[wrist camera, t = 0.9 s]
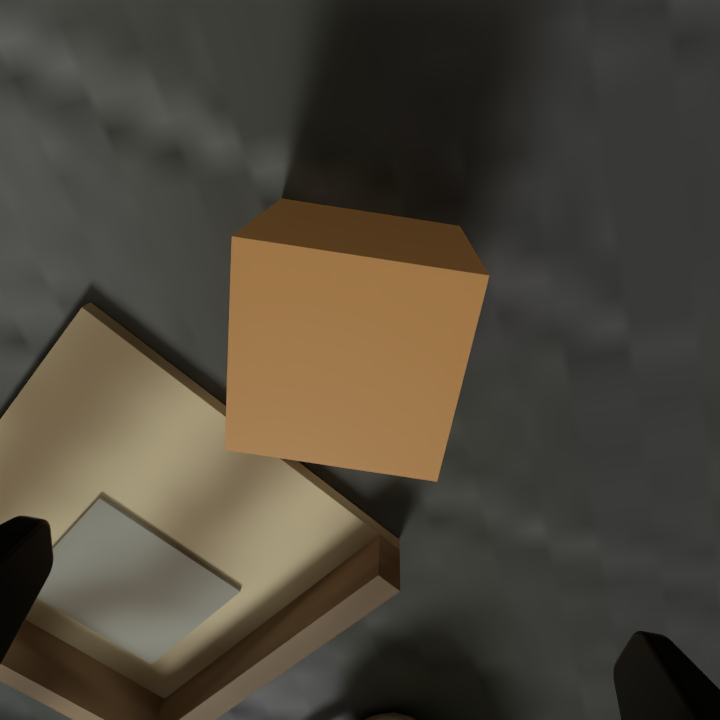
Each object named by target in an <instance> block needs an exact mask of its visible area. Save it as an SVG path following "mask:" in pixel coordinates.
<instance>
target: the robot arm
mask: <svg viewBox="0 0 720 720" xmlns="http://www.w3.org/2000/svg"><path fill="white" fill-rule="evenodd" d="M53 558H54V557H53V547H52V537H51V528H50V524H49V522H48V521H47V520H45V519H41V518H35V517H30V516H23V515H22V516H17V517H14V518H12V519H10V520H8V521H6V522H4V523H2V524H0V665H1V663H2V661H3V659H4V657H5V656H6V654H7V652H8V650H9V648H10V646H11V645H12V643H13V641H14V639H15V637H16V635H17V633H18V632H19V630H20V628H21V626H22V624H23V622H24V621H25V619H26V617H27V615H28V613H29V611H30V610H31V608H32V606H33V604H34V602H35V600H36V599H37V597H38V595H39V593H40V591H41V589H42V587H43V586H44V584H45V582H46V580H47V578H48V576H49V574H50V572H51V569H52V566H53ZM614 684H615V689H616V694H617V699H618V705H619V710H620V715H621V720H720V689H719V688H718V687H717V686H716V685H715V684H714V683H713V682H712V681H711V680H710V679H709V678H708V677H707V676H706V675H705V674H704V673H703V672H702V671H701V670H700V669H699V668H698V667H697V666H696V665H695V664H694V663H693V662H692V661H691V660H690V659H689V658H688V657H687V656H686V655H685V654H684V653H683V652H682V651H681V650H680V649H679V648H678V647H677V646H676V645H675V644H674V643H673V642H672V641H671V640H670V639H669V638H667V637H665V636H663V635H660V634H655V633H650V632H645V631H638V632H636V633H634V634H633V635H632V637H631V638H630V640H629V642H628V643H627V645H626V647H625V648H624V650H623V651H622V653H621V655H620V656H619V658H618V659H617V661H616V663H615V667H614Z"/></svg>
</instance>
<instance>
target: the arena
mask: <svg viewBox="0 0 720 720" xmlns="http://www.w3.org/2000/svg"><path fill="white" fill-rule="evenodd" d="M225 427H226V406H225V405H224V404H223V403H221V402H220V401H219V400H217V399H216V398H215V397H213V396H212V395H211V394H210V393H208V392H207V391H206V390H204V389H203V388H202V387H200V386H199V385H198V384H197V383H195V382H194V381H193V380H191V379H190V378H189V377H187V376H186V375H185V374H184V373H182V372H181V371H180V370H178V369H177V368H176V367H175V366H173V365H172V364H171V363H169V362H168V361H167V360H165V359H164V358H163V357H162V356H160V355H159V354H158V353H156V352H155V351H154V350H152V349H151V348H150V347H149V346H147V345H146V344H145V343H143V342H142V341H141V340H139V339H138V338H137V337H136V336H134V335H133V334H132V333H130V332H129V331H128V330H126V329H125V328H124V327H123V326H121V325H120V324H119V323H117V322H116V321H115V320H113V319H112V318H111V317H110V316H108V315H107V314H106V313H104V312H103V311H102V310H100V309H99V308H98V307H97V306H95V305H94V304H93V303H91V302H90V303H88V304H87V305H85V306H83V307H82V308H81V309H80V311H79V312H78V313H77V315H76V316H75V318H74V319H73V320H72V322H71V323H70V324H69V326H68V327H67V328H66V330H65V331H64V333H63V334H62V335H61V337H60V338H59V339H58V341H57V342H56V344H55V345H54V346H53V348H52V349H51V350H50V352H49V353H48V355H47V356H46V357H45V359H44V360H43V361H42V363H41V364H40V366H39V367H38V368H37V370H36V371H35V372H34V374H33V375H32V377H31V378H30V379H29V381H28V382H27V383H26V385H25V386H24V387H23V389H22V390H21V392H20V393H19V394H18V396H17V397H16V398H15V400H14V401H13V403H12V404H11V405H10V407H9V408H8V409H7V411H6V412H5V414H4V415H3V416H2V418H1V419H0V524H2V523H4V522H6V521H8V520H10V519H12V518H14V517H17V516H22V515H23V516H30V517H35V518H41V519H45V520H47V521H48V522H49V524H50V528H51V537H52V547H53V557H54V558H53V566H52V569H51V572H50V574H49V576H48V578H47V580H46V582H45V584H44V586H43V587H42V589H41V591H40V593H39V595H38V597H37V599H36V600H35V602H34V604H33V606H32V608H31V610H30V611H29V613H28V615H27V617H26V619H25V621H24V622H23V624H22V626H21V628H20V630H19V632H18V633H17V635H16V637H15V639H14V641H13V643H12V645H11V646H10V648H9V650H8V652H7V654H6V656H5V657H4V659H3V661H2V663H1V665H0V681H1V682H3V683H5V684H7V685H9V686H11V687H13V688H15V689H16V690H18V691H20V692H22V693H24V694H26V695H28V696H30V697H31V698H33V699H35V700H37V701H39V702H41V703H43V704H45V705H47V706H48V707H50V708H52V709H54V710H56V711H58V712H60V713H62V714H64V715H65V716H67V717H69V718H71V719H73V720H216V719H217V718H219V717H220V716H222V715H223V714H224V713H226V712H227V711H229V710H230V709H232V708H233V707H234V706H236V705H237V704H239V703H240V702H242V701H243V700H245V699H246V698H247V697H249V696H250V695H252V694H253V693H255V692H256V691H257V690H259V689H260V688H262V687H263V686H265V685H266V684H268V683H269V682H270V681H272V680H273V679H275V678H276V677H278V676H279V675H280V674H282V673H283V672H285V671H286V670H288V669H289V668H291V667H292V666H293V665H295V664H296V663H298V662H299V661H301V660H302V659H303V658H305V657H306V656H308V655H309V654H311V653H312V652H314V651H315V650H316V649H318V648H319V647H321V646H322V645H324V644H325V643H326V642H328V641H329V640H331V639H332V638H334V637H335V636H337V635H338V634H339V633H341V632H342V631H344V630H345V629H347V628H348V627H349V626H351V625H352V624H354V623H355V622H357V621H358V620H360V619H361V618H362V617H364V616H365V615H367V614H368V613H370V612H371V611H372V610H374V609H375V608H377V607H378V606H380V605H381V604H383V603H384V602H385V601H387V600H388V599H390V598H391V597H393V596H394V595H395V594H397V593H398V592H400V553H399V539H398V538H397V537H395V536H394V535H393V534H391V533H390V532H389V531H388V530H386V529H385V528H384V527H382V526H381V525H380V524H378V523H377V522H376V521H375V520H373V519H372V518H371V517H369V516H368V515H367V514H365V513H364V512H363V511H362V510H360V509H359V508H358V507H356V506H355V505H354V504H353V503H351V502H350V501H349V500H347V499H346V498H345V497H343V496H342V495H341V494H340V493H338V492H337V491H336V490H334V489H333V488H332V487H330V486H329V485H328V484H327V483H325V482H324V481H323V480H321V479H320V478H319V477H317V476H316V475H315V474H314V473H312V472H311V471H310V470H308V469H307V468H306V467H304V466H303V465H302V464H301V463H299V462H298V461H295V460H289V459H282V458H275V457H269V456H262V455H255V454H249V453H242V452H235V451H228V450H225Z"/></svg>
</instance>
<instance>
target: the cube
mask: <svg viewBox="0 0 720 720" xmlns="http://www.w3.org/2000/svg"><path fill="white" fill-rule="evenodd" d="M488 279H489V274H488V272H487V271H486V269H485V267H484V266H483V264H482V262H481V261H480V259H479V257H478V255H477V254H476V252H475V250H474V249H473V247H472V245H471V244H470V242H469V240H468V239H467V237H466V235H465V234H464V232H463V230H462V229H461V227H460V226H458V225H452V224H445V223H439V222H432V221H426V220H419V219H413V218H406V217H400V216H393V215H387V214H380V213H374V212H367V211H361V210H354V209H347V208H341V207H334V206H328V205H321V204H315V203H308V202H302V201H295V200H289V199H282V198H281V199H280V200H279V201H277V202H276V203H275V204H273V205H272V206H271V207H269V208H268V209H267V210H266V211H264V212H263V213H262V214H260V215H259V216H258V217H256V218H255V219H254V220H252V221H251V222H250V223H249V224H247V225H246V226H245V227H243V228H242V229H241V230H239V231H238V232H237V233H235V234H234V235H233V236H232V246H231V276H230V306H229V336H228V366H227V397H226V427H225V450H228V451H235V452H242V453H249V454H255V455H262V456H269V457H275V458H282V459H289V460H295V461H302V462H309V463H316V464H322V465H329V466H336V467H342V468H349V469H356V470H362V471H369V472H376V473H383V474H389V475H396V476H403V477H409V478H416V479H423V480H429V481H436V482H437V480H438V476H439V472H440V468H441V464H442V460H443V456H444V452H445V448H446V444H447V440H448V437H449V433H450V429H451V425H452V421H453V417H454V413H455V409H456V405H457V401H458V397H459V393H460V389H461V385H462V381H463V378H464V374H465V370H466V366H467V362H468V358H469V354H470V350H471V346H472V342H473V338H474V334H475V330H476V326H477V322H478V319H479V315H480V311H481V307H482V303H483V299H484V295H485V291H486V287H487V283H488Z"/></svg>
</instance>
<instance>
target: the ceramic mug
mask: <svg viewBox="0 0 720 720" xmlns="http://www.w3.org/2000/svg"><path fill="white" fill-rule="evenodd" d="M365 720H416V719H415V718H413V717H411V716H408V715H403V714H398V713H382V714H378V715H374V716H371V717H369V718H367V719H365Z"/></svg>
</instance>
